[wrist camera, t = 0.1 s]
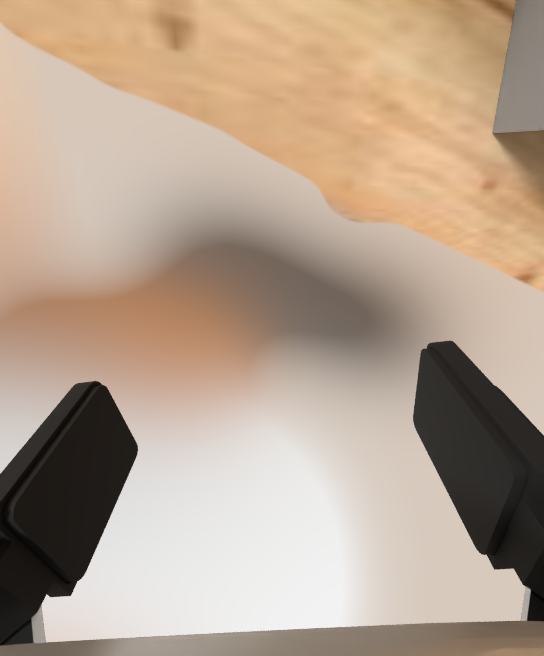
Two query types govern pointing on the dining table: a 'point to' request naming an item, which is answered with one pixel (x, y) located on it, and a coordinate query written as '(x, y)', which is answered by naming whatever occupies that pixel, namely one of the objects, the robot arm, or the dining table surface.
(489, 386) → the robot arm
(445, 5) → the dining table surface
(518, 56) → the cabinet
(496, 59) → the dining table surface
